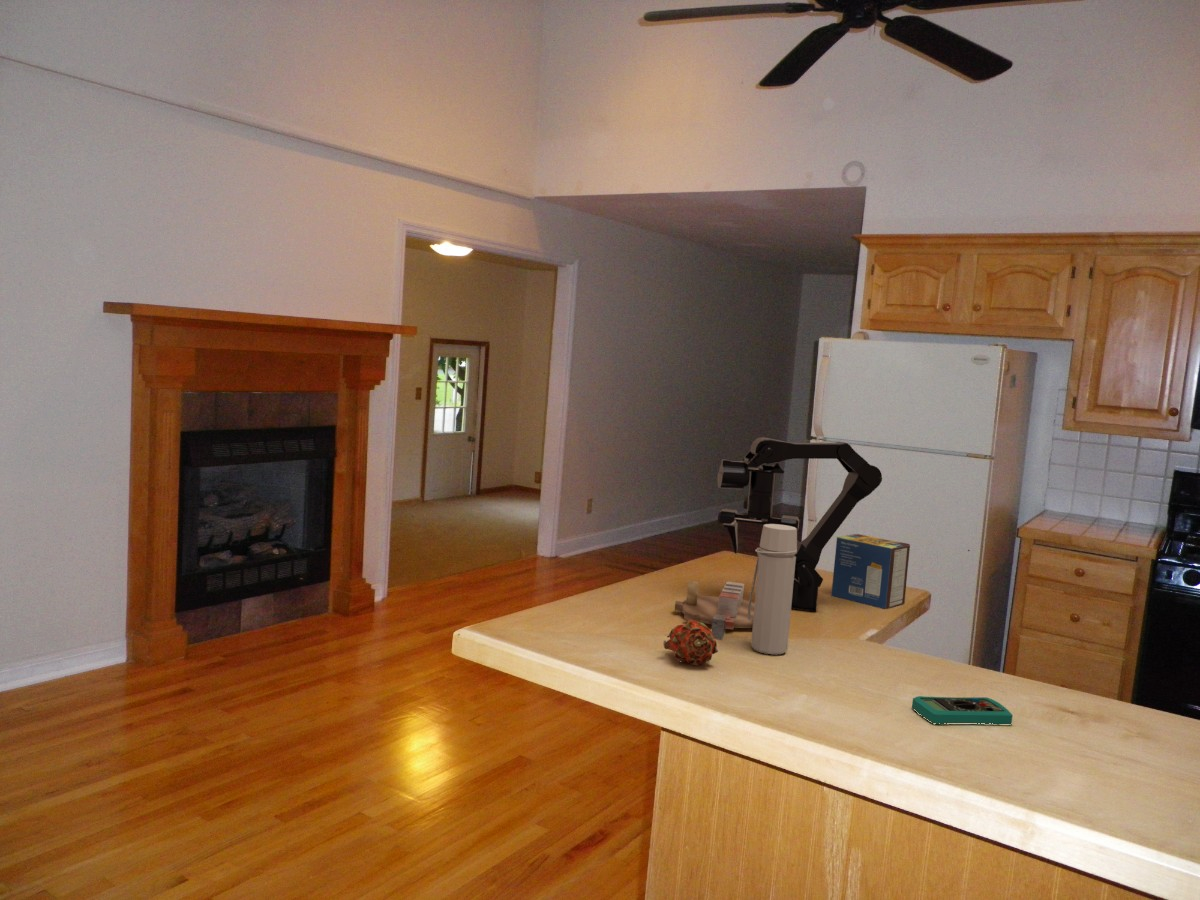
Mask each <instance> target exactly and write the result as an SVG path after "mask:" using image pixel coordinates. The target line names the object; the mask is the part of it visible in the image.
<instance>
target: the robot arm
mask: <svg viewBox="0 0 1200 900" xmlns="http://www.w3.org/2000/svg"><path fill="white" fill-rule="evenodd" d="M792 459H799V460H802V459H806V460H808V459H812V460H813V459H817V460H818V459H824V460H825V459H826V460H829V459H831V460H837V461H838V462H839V463H840V464H841V466H842V467H843V469H844V470H845V471H846V472H847V475H846V476H845V479H844V482H843V485H842V488H841V489H842V490H841V491H840V493H839V494H838V496H837V497H836V498H835V499H834V501H833V503H832V504H831V505H830V506H829V508H828V509H827V510H826V512H825V513H824V514H823V515H822V516H821V518H820V519H819V521H817V524H816V525H815V526H814V528H813V529H812V530H811V531H810V533H809V534H808V535H807V537H806V538H804V539H803V540H801V541H799V540H797V553H796V554H794V556H795V557H796V562H795V573H794V583H793V594H792V605H791V610H798V611H806V612H812V613H813V612H814V613H816V612H817V611H818V595H819V594H818V593H819V588H820V587H821V585H822V584H823V581H824V578H823V576H821V575H820V573H818V571H817V570H816V568H817V565H818V564H819V561H820V558H821V556H822V555H821V554H822V552H823V549H824V548H825V546H826V545H827V544H828V542H829V541H830V540H831V538H832V537H833V536H834V535H835V533H836V532H837V530H838V529H839V528H840V527H841V525H842V524H843V523H844V521H845V520H846V519H847V518H848V516H849V514H851V512H852V510H853V509H854V508H855V506H856V505H857V504H858V503H859V502H861V501H862V500H863V499H865V498H866V497H868V496H869V495H871V494H872V493H873V492H874V491H875V490H876V489H877V488H878V487H879V486H880V485H881V483H882V481H883V477H882V476H883V474H882V472H881V470H880V469H879V467H877V466H875V465H872V464H870V463H868V461H867V460H866V459H865V458H864V457H863V456H861V455H860V454H859V453H858V452H857V451H856V450H855V449H854V448H853V447H852V446H851V444H849V443H846V442H842V441H837V442H795V441H794V442H790V441H785V440H779V439H775V438H769V437H763V436H762V437H757V438H756V439H755V440H754V441H752V443H751V445H750V450H749V451H748V452H747V453H746V454H745V456H744V457H742V459H741V460H729V459H724V458H723V459H721V461H720V465H719V469H718V471H717V479H716V480H717V487H718V489H729V490H730V489H731V490H744V489H745V487H747V486H748V485H749V486H748V496H744V498H743V505H742V506H743V507H742V508H743V510H744V511H746V514H745V513H744V514H743V513H738V510H737V509H732V508H731V509H729V508H722V509H721V510H720V511H719V512H718V514H717V515H718V516H717V523H718V524H722V527H723V528H726V529H727V531H728V534H729V537H730V540H731V543H732V547H733V550H734V554H737V553H738V547H739V545H738V544H739V542H738V541H739V539H738V526H739V525H738V522H740V523H749V524H759V525H765V524H780V525H787V526H792V527H795V528H796V529H797V532H798V530H799V526H800V519H799V517H798V516H792V515H784V514H783V515H782V516H781V518H779V517H773V509H774V505H773V500H774V489H775V488H774V487H775V479H776V478H775V477H776V474H784V473H785V470H783V468H782V467H781V466H780V464H779V463H780V462H781V463H782V462H784V461H787V460H792ZM769 464H770V465H769ZM771 464H772V465H771Z"/></svg>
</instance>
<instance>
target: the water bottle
mask: <svg viewBox="0 0 1200 900" xmlns="http://www.w3.org/2000/svg"><path fill="white" fill-rule="evenodd" d="M762 525H763V527H762V529H761V536H760V542H759V547H756V549H755V552H756V554H757V555H756V556H757V559H756V563H755V569H754V574H753V580H752V584H751V589H750V594H749V599H748V601H749V604H748V620H749V621H751V622H752V621H753V627H752V630H751V631H752V632H751V639H750V640H751V641H750V643H751V644H750V645H751V647H752V648H753V650H754V651H756V652H758V653H760V654H763V653H764V655H768V654H771V656H778V654H779V655H782V654H785V652H787V650H788V647H789V646H788V645H789V635H790V624H791V614H792V613H791V612H792V609H791V605H792V594H793V583H794V573H795V562H796V557H795V556H794V554H796V553H797V541H798V531H797V529H796V528H795V527H792V526H787V525H780V524H762ZM754 589H755V596H754ZM753 596H754V597H755V598H754V602H755V607H754V618H753V620H751V617H750V607H751V602H753V601H752V600H753Z"/></svg>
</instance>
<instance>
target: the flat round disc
mask: <svg viewBox="0 0 1200 900" xmlns="http://www.w3.org/2000/svg"><path fill="white" fill-rule="evenodd" d="M699 586H700V585H699V582H698V581H694V580H688V581H687V589H686V599H685V600H683V601H678V600H675V604H674V612H675V611H676V612H681V613H682V614H683V616H684V617H683V619H684V620H687V621H689V620H693V621H698V622H701V623H704V624H709V625H712V619H713V617H714V615H715V614H717V615H718V605H719V596H700V595H698V593H699ZM748 604H749V600H745V599H743V601H742V604H741V607H740V609H739V612H738V615H737V617H736V618H734V617H727V616H726V628H725V630H726V629H727V630H734V628H740V629H741V628H742V629H745V628H746V629H747V628H749V629H751V628H752V629H753V621H752V622H751V621H749V620H748ZM754 607H755V601H751V607H750V617H751V620H753V618H754Z"/></svg>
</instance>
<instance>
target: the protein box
mask: <svg viewBox="0 0 1200 900" xmlns="http://www.w3.org/2000/svg"><path fill="white" fill-rule="evenodd" d="M910 548H911V544H910V543H907V542H906V543H905V542H902V541H895V540H890V539H884V538H880V537H874V536H870V535H864V534H859V533H854V534H848V535H839V536H836V543H835V554H834V565H833V575H832V584H831V591H830V594H831V597H836V598H838V599H843V600H847V601H851V602H854V603H859V604H863V605H866V606H871V607H874V608H878V609H882V610H887V609H890V608H894V606H895V607H898V606H902V605H905V602H906V590H907V582H908V569H909V560H910V559H909V558H910V551H911V550H910ZM897 605H898V606H897Z"/></svg>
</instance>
